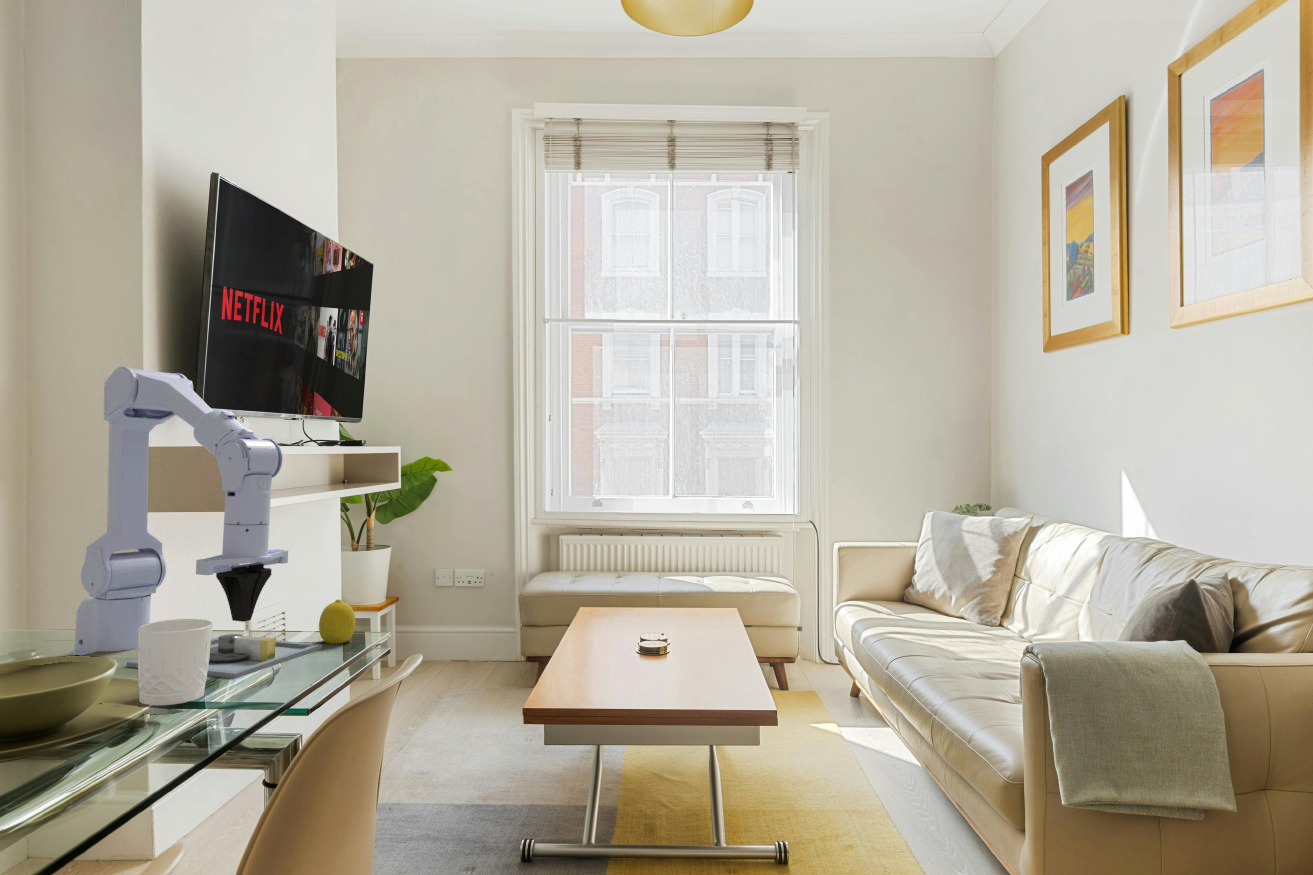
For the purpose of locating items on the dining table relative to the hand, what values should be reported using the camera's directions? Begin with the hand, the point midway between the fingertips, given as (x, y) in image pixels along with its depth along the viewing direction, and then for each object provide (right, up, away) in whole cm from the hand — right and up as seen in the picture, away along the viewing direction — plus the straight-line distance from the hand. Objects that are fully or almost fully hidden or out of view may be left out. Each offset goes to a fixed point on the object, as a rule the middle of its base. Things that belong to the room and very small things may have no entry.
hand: (241, 620), depth 109 cm
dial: (-4, -7, +6) cm, 10 cm away
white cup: (-1, -8, -13) cm, 15 cm away
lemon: (+6, -9, +18) cm, 21 cm away
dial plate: (-5, -8, +6) cm, 11 cm away
